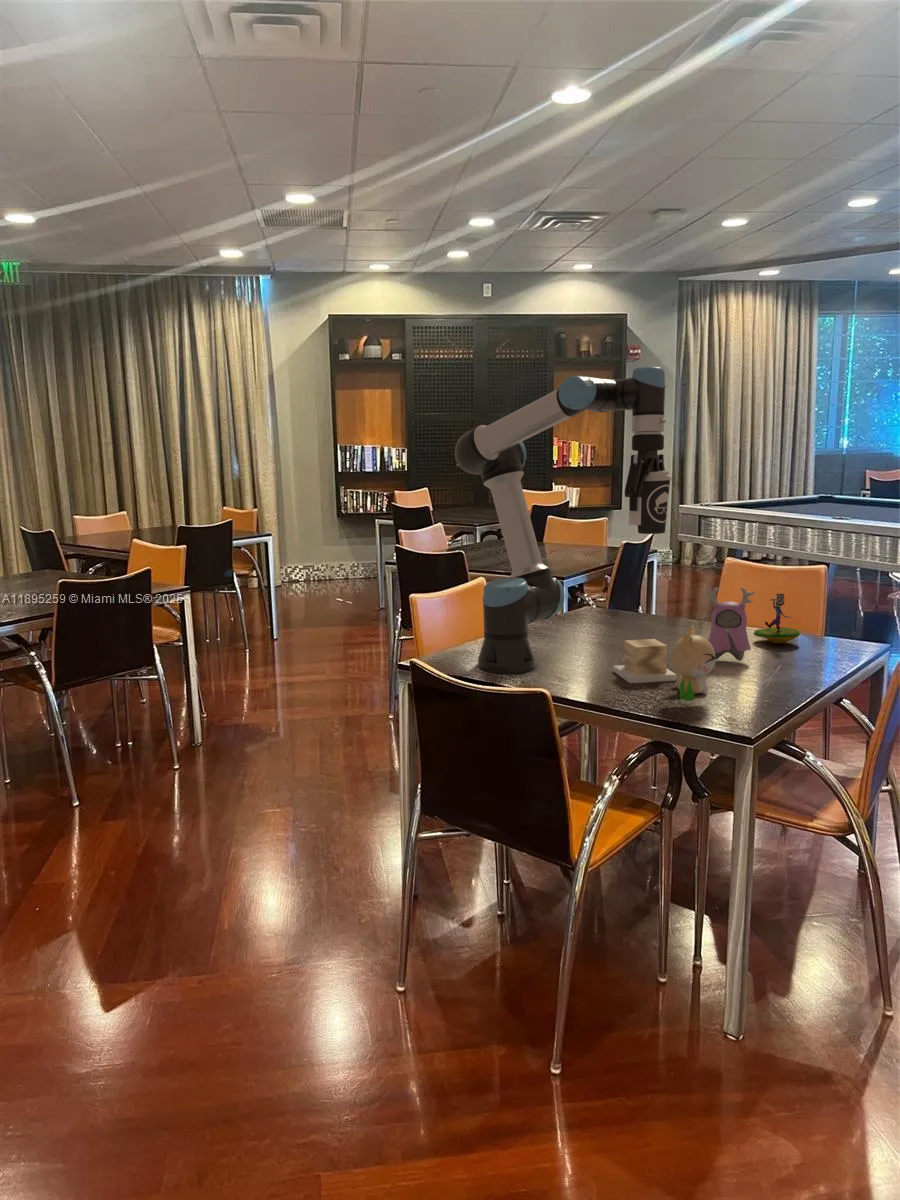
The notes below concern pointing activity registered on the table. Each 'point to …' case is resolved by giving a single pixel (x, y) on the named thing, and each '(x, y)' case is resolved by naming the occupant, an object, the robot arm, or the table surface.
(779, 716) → the table surface
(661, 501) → the coffee cup
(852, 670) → the table surface
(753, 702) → the table surface
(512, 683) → the table surface
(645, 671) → the maple brick
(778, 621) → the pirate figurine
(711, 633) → the toy character
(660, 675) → the grey tile
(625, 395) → the robot arm
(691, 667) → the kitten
